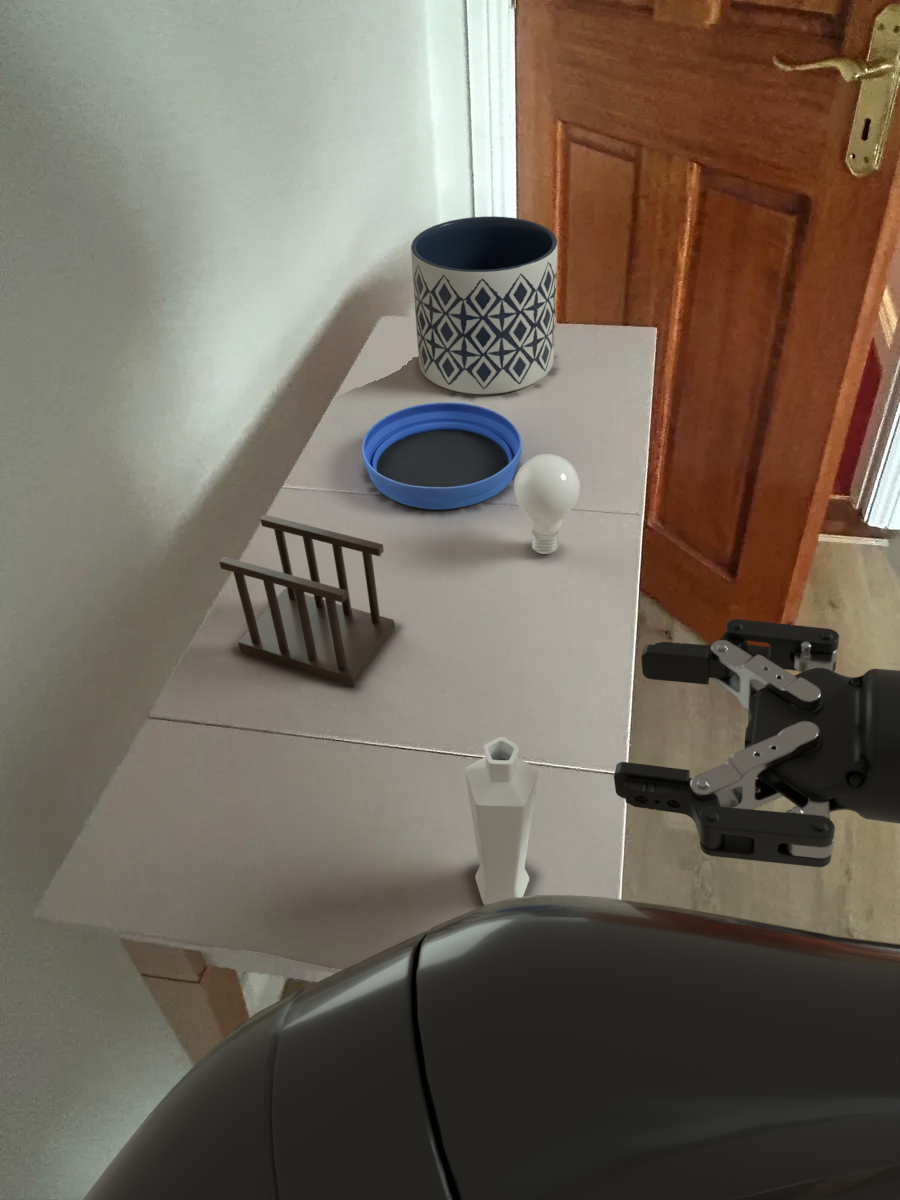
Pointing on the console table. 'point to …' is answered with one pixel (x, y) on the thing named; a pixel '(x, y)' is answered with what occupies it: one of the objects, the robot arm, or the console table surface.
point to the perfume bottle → (501, 819)
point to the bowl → (442, 455)
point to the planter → (485, 303)
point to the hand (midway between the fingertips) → (630, 717)
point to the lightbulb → (546, 497)
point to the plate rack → (313, 609)
